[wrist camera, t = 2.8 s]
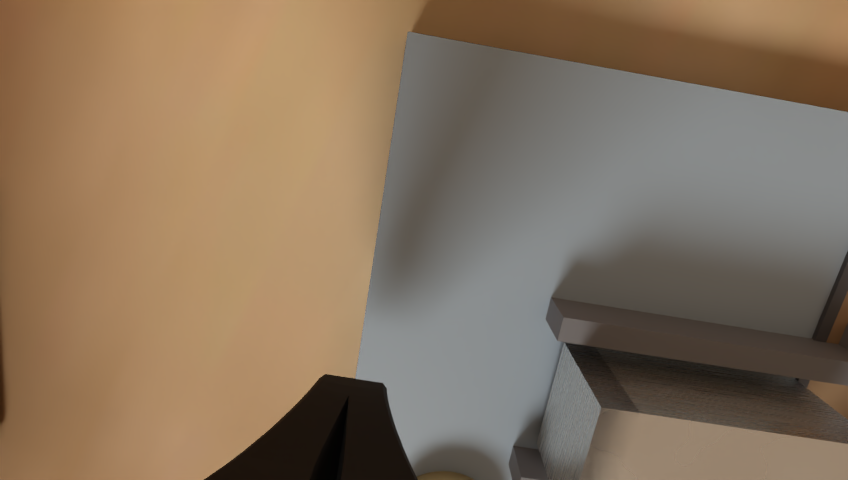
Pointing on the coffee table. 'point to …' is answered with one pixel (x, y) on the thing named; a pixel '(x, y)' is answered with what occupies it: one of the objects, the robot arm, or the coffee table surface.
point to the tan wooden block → (684, 422)
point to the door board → (591, 243)
